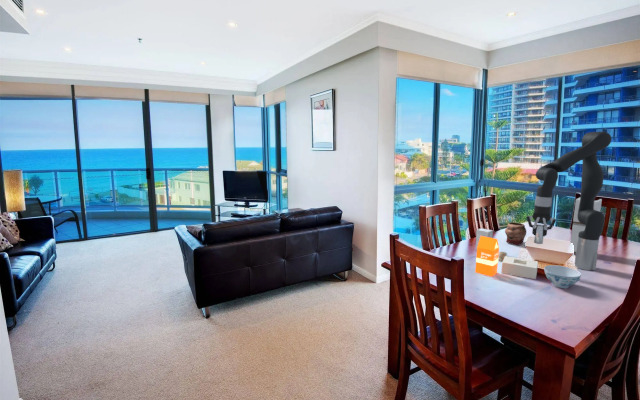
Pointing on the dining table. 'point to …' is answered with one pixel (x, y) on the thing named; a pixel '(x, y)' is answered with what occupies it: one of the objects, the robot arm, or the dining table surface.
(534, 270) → the hole block
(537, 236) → the long pin
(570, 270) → the chinaware
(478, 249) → the orange juice
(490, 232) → the skincare box
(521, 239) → the decorative planter
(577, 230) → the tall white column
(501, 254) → the short pin
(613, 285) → the dining table surface
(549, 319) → the dining table surface
